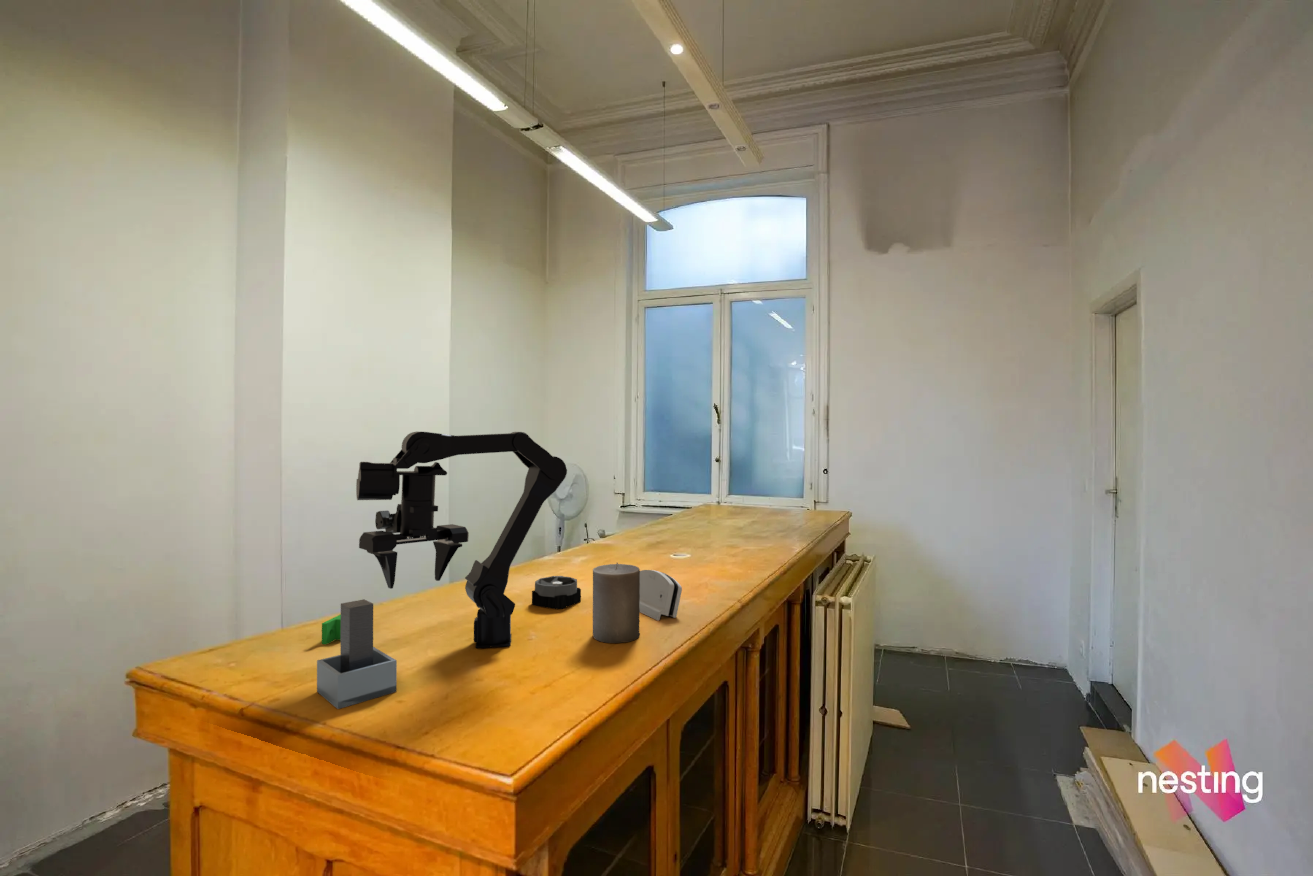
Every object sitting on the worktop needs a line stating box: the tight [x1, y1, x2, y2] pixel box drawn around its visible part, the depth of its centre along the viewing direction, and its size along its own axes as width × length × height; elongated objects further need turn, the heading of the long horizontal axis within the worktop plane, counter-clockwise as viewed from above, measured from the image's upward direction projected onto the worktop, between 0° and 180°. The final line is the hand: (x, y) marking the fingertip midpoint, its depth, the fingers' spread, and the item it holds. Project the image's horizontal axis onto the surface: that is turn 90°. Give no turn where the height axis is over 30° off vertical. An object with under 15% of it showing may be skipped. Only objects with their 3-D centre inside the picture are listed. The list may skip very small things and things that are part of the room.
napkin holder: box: [639, 569, 683, 621], centre depth 147 cm, size 17×5×10 cm, turn 33°
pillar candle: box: [592, 562, 641, 644], centre depth 128 cm, size 10×10×15 cm
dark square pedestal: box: [340, 598, 374, 673], centre depth 99 cm, size 5×5×13 cm
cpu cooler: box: [531, 575, 582, 610], centre depth 152 cm, size 10×6×10 cm
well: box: [316, 646, 398, 710], centre depth 100 cm, size 9×9×5 cm
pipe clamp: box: [321, 613, 341, 645], centre depth 126 cm, size 10×4×4 cm, turn 174°
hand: (414, 584), depth 116 cm, fingers open, 9 cm apart
